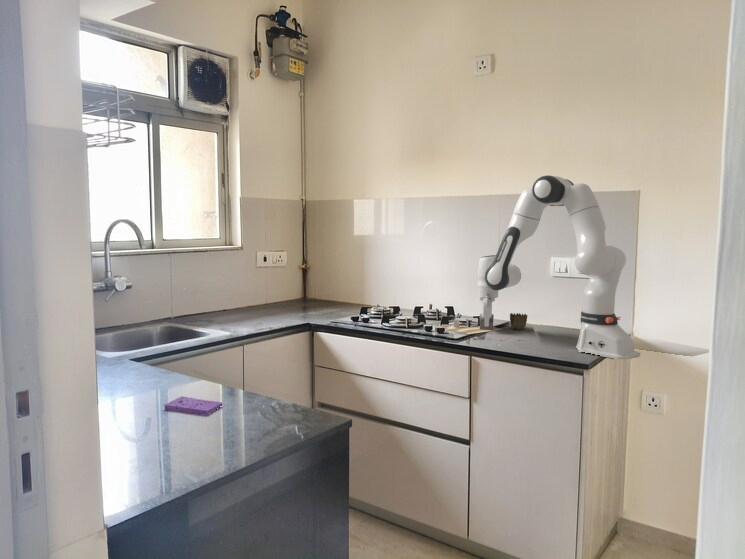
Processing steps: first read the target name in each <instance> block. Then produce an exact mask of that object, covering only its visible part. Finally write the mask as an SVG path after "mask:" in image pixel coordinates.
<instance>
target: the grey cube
mask: <svg viewBox="0 0 745 559" xmlns="http://www.w3.org/2000/svg"><path fill="white" fill-rule="evenodd" d="M494 318H495V317H494V314H493V313H492V316H491V318H489V326H488V327H485V326H484V317H483V313H480V314H479V324H480V329H482V330H493V327H494Z"/></svg>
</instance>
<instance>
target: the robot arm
mask: <svg viewBox="0 0 745 559" xmlns="http://www.w3.org/2000/svg"><path fill="white" fill-rule="evenodd" d="M548 206H550V207H563V206H564V207H565V208H566V210H567V214H568V218H569V220H570V222H571V225H572V229H573V232H574V236H575V240H576V241H575V242H576V255H575V258H574V266H575V268H576V270H577V271H578V272H579V273H580V274H582V275H585V276H587V277H589V279H588V282H587V285H586V286H585V288H584V290H583V292H582V293H583V295H582V311H581V312H580V331H579V336H578V339H577V344H576V345H575V349H576V348H577V349H576V350H577V351H578V353H581V352H585V353H584V354H586V353H591V354H590V355H592V354H595V355H594V356H597V355H600V356H599V357H604V358H610V359H615V360H631V359H636V358H640V356H641V352H640V351H637V350H635V345H634V340H633V338H632V336H631V335H630V334H628V333H627V332H626V331H625V330H624V329H623V328H622V327H621V326H620V325H619V322H618V321H621V316H616V313H615V306H616V305H615V304H616V292H617V288H618V284H619V281H620V277H621V273H622V270H623V269H624V268H625V266H626V262H627V257H626V255H625V252H624V251H623V250H622V249H620V248H618V247H617V246H613V245H606V244H607V243H606V237H605V236H606V234H605V231H606V229H607V228H606V227H607V225H606V222H605V219H604V217H603V214H602V211H601V208H600V205H599V203H598V200H597V198H596V196H595V193H594V192H593V190H592V189H591V187H590V186H589V185H588V184H586V183H576V184H574V183H573V182H572V181H571V180H569V179H567V178H563V177H561V176H555V175H543V176H540V177H538V178H537V179H536V180H535V181H534V182H533V185H532V188H531V187H530V188H525V189H524V190H523V191H522V192H521V194H520V196H519V197H518V200H517V201H516V204H515V206H514V209H513V213H512V215H511V218H510V221H509V223H508V226H507V229H506V231H505V233H504V235H503V238H502V240H501V242H500V244H499V246H498V248H497V252H496V254H495V255H494V254H493V255H492V254H491V255H486V256H482V257H480V258H479V262H478V266H477V279H478V281H477V288H476V297H477V298H479V301H480V302H481V307H482V314H483V317H484V326H485V327H488V326H489V318H491V316H492V314H493V313H492V310H493V302H495V301H496V300H495V299H497V298H498V297H499V291H501V290H503V289H506V288H507V289H508V288H511V287H514V286H516V285H518V284H519V283H520V281H521V279H522V273H521V269H520V267H518V266H517V265H515V264H512V263H511V262H512V260H513V257H514V255H515V252H516V250H517V248H518V246H519V245H520V244H521V243H523V242H524V241H526V240H527V239H528V238H530V237H532V236H533V235H534V234H535V232H536V230H537V229H538V227H539V224H540V222H541V218H542V215H543V213H544V210H545V209H546V208H547V207H548Z"/></svg>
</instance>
